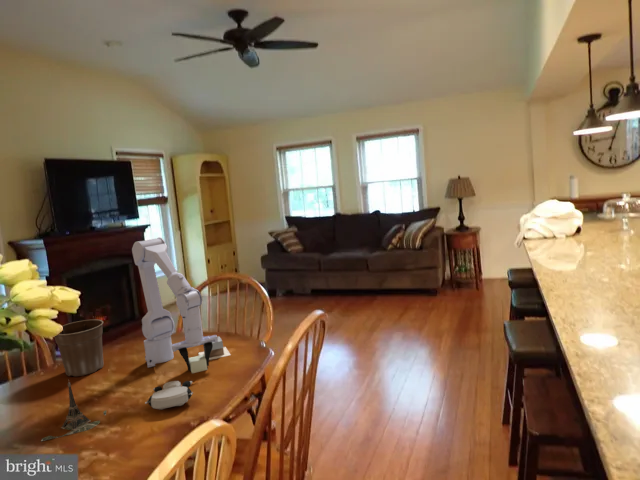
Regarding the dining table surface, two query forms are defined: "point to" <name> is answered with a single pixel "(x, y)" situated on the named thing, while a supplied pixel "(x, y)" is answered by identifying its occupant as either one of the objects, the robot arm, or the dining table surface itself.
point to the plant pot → (81, 347)
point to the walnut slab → (216, 352)
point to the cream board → (226, 353)
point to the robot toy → (170, 395)
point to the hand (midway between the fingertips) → (198, 367)
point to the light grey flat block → (217, 344)
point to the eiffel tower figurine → (75, 419)
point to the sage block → (198, 363)
